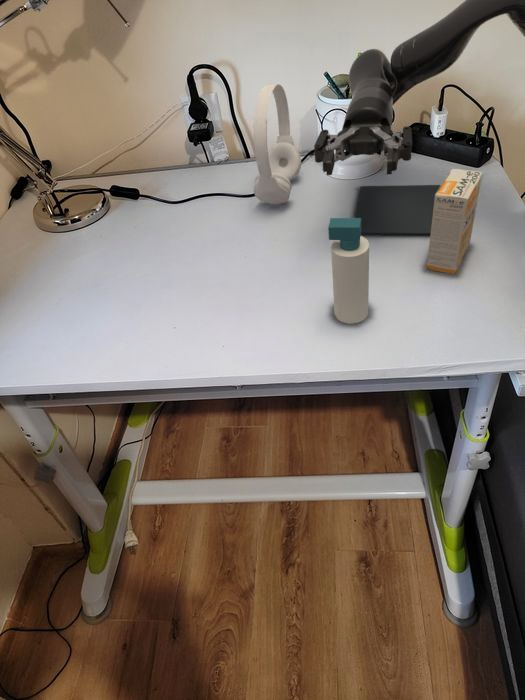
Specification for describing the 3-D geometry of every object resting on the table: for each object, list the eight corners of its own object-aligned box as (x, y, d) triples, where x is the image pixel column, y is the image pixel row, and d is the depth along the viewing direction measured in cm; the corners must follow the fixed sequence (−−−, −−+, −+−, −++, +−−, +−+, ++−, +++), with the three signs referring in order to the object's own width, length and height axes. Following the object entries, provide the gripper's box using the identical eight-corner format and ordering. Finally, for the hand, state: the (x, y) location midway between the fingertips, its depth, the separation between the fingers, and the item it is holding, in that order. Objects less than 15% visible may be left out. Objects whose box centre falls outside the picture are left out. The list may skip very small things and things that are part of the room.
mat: (446, 187, 96) (446, 184, 95) (447, 236, 85) (448, 233, 85) (360, 188, 100) (360, 186, 100) (351, 235, 89) (351, 232, 89)
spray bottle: (369, 301, 77) (371, 211, 66) (366, 324, 74) (367, 233, 63) (336, 300, 78) (331, 211, 67) (331, 322, 75) (326, 233, 64)
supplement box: (456, 276, 78) (469, 199, 69) (425, 269, 80) (433, 194, 71) (470, 246, 83) (484, 170, 73) (440, 240, 85) (450, 166, 75)
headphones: (252, 217, 98) (233, 111, 84) (273, 170, 110) (260, 71, 96) (288, 217, 96) (275, 109, 82) (305, 170, 108) (297, 68, 94)
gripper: (323, 98, 82) (307, 144, 71) (415, 93, 78) (412, 141, 68) (326, 143, 87) (311, 193, 77) (412, 140, 84) (408, 192, 73)
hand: (358, 168), depth 72 cm, fingers open, 8 cm apart
